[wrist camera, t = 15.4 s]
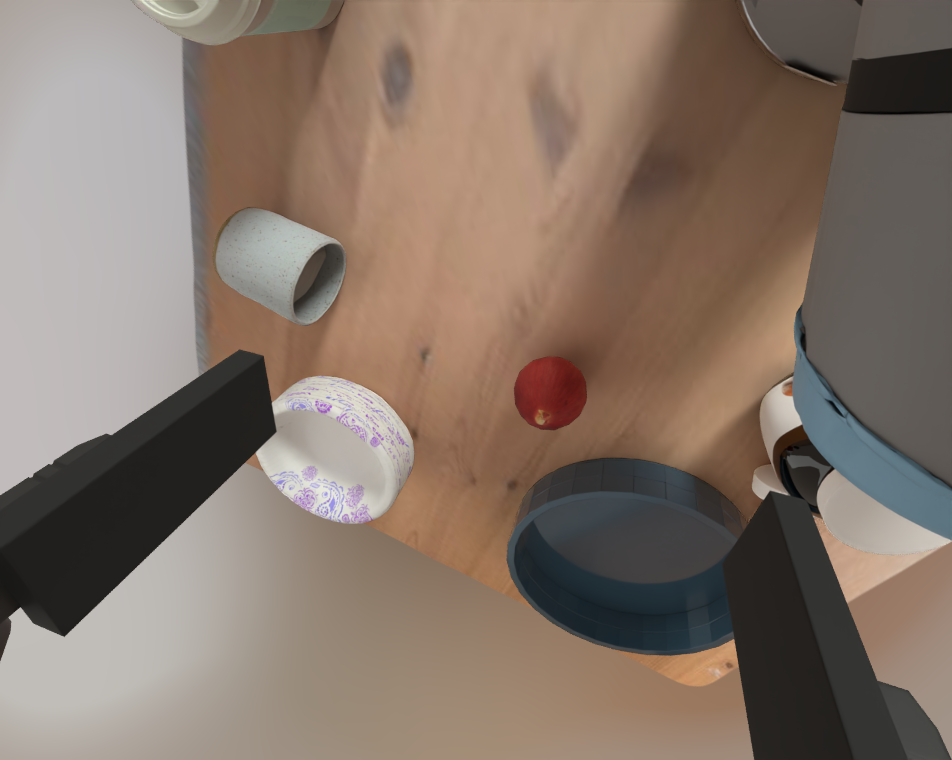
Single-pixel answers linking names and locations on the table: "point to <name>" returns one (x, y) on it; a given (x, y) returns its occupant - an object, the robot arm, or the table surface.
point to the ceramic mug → (280, 264)
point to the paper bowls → (337, 450)
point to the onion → (550, 393)
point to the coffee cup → (238, 17)
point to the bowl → (627, 555)
